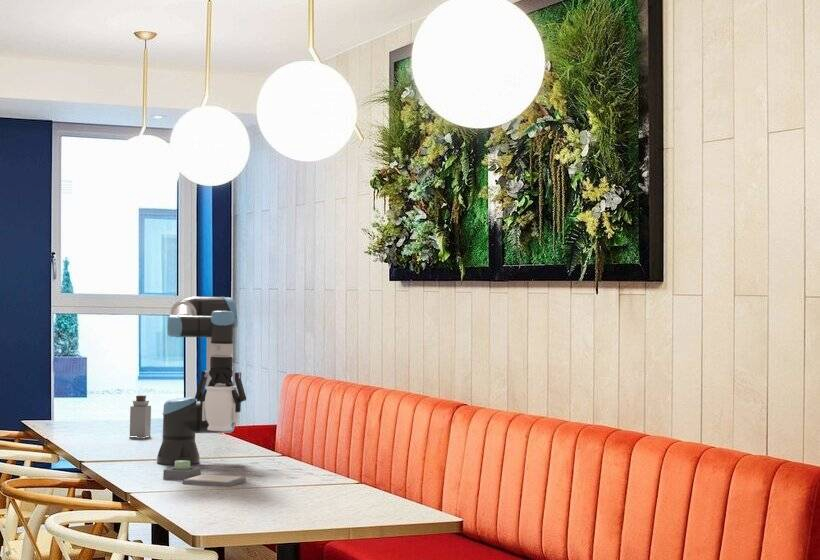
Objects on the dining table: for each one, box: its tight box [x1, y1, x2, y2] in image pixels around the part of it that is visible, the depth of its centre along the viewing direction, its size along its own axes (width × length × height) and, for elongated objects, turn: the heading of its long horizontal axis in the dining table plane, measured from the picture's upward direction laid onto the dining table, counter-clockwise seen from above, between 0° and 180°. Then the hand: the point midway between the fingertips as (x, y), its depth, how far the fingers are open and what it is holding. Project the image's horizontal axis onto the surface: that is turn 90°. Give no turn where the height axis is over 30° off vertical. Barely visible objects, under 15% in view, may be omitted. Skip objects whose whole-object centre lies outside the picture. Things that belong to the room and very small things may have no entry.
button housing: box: [162, 466, 202, 481], centre depth 367 cm, size 9×9×3 cm
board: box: [181, 473, 247, 488], centre depth 359 cm, size 16×13×2 cm
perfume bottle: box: [129, 394, 152, 437], centre depth 484 cm, size 7×7×18 cm
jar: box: [204, 385, 237, 431], centre depth 379 cm, size 11×10×15 cm
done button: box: [174, 460, 191, 471], centre depth 367 cm, size 5×5×3 cm
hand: (220, 421), depth 379 cm, fingers closed on jar, 10 cm apart
